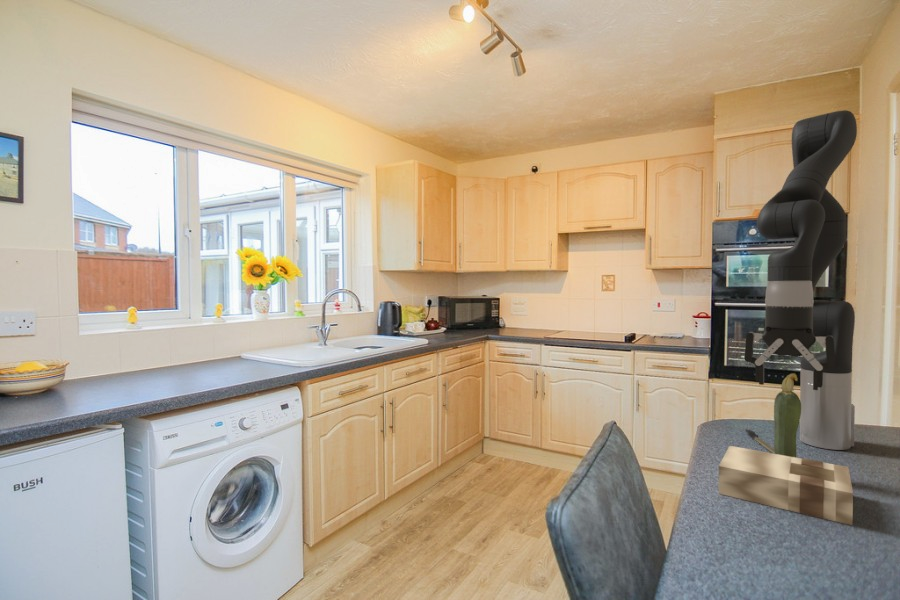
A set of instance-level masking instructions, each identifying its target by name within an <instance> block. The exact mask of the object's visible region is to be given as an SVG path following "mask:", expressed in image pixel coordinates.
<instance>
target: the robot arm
mask: <svg viewBox="0 0 900 600" xmlns="http://www.w3.org/2000/svg"><path fill="white" fill-rule="evenodd" d="M857 126H858V125H857V120H856V117H855V114H854V113H853V112H852V111H851V110H850V111H849V110H837V111H832V112H828V113H824V114H823V113H822V114H820V115H815V116H810V117H807V118H803V119H801V120H797V122H795V124H794V126H793V128H792V132H791V150H792V151H791V154H792V165H793V168H792V170H791V171H790V173H788V175H787V177H786V179H785V181H784V183H783V186H782V188H781V190H779V191H778V192H777V193H776V194H775V195H774V196H773V197H771V198H770V199H769V200H768V201H766V203H765V204H764V205H763V207H761V210H760V211H759V213H758V215H757V219H756V228H757V231H758V233H759V234H760V236H761V237H763V238H765V239H767V240H782V239H783V240H785V239H794V244H793V245H792V246H791V247H789V248H786V249H782V250H778V251H774V252H772V253H770V254H769V255H768V257H767V283H766V289H765V298H764V303H765V312H764V313H765V317H764V319H765V322H764V325H765V327H764V332H763V333H760V332H759V333H758V332H756V333H755V332H753V331H748V332H747V334H746V337H745V348H744V349H745V350H744V361H745V362H746V363H751V364H753V365H754V367H755V368H754V369H755V370H754V371H755V372H754V373H755V374H754V375H755V377H754V379H755V382H758V384H759V385H761V386H764V384H765V365H764V363H765V362H766V361H767V360H768V359H769V358H770V357H771V356H772V355H773V354H775V355H777V356H780V357H787V356H790V357H793V358H799V357H801V358H800V382H799V383H800V386H799V387H800V390H799V391H800V393H799V394H800V396H799V399H800V402H801V416H800V421H799V441H800V442H802V443H804V444H806V445H809V446H812V447H816V448H821V449H826V450H835V451H843V450H844V451H845V450H849V449H851V447H855V419H856V418H855V417H856V416H855V415H856V412H855V411H856V409H855V405H854V404H853V403H852V392H853V391H852V389H853V388H852V383H853V381H852V380H853V379H852V377H853V343H854V333H855V332H854V331H855V322H856V321H855V317H856V316H855V310H854V307H853V305H852V303H850V302H848V301H843V300H842V301H841V300H840V301H839V300H836V301H835V300H814V295H815V289H816V286H817V284H818V282H819V281H820V279H821V277H822V276H823V274H824V273H825V272H826V270H827V269H828V268H829V267H830V265H831V264H832V263H833V262H834V261H835V259H836V258H837V257H838V255H839V254H840V253H841V252H842V250H843V248H844V246H845V244H846V240H847V239H846V237H847V233H846V232H847V225H846V224H847V215H846V214H847V213H846V212H845V210H844V208H843V206H842V205H841V204H840V202H839V201H838V200H837V199H836V198H835V196H833V194H831V192H830V191H829V190H828V189H827V185H828V183H829V181H830V180H831V177H832V175H833V174H834V173H835V171H836V170H837V169H838V168H839V166H840V165H841V164H842V162H843V161H844V160H845V159H846V157H847V156H848V154H849V153H850V152H851V150H852V148H853V147H854V145H855V142H856V140H857V135H858V127H857ZM761 339H762V340H763V342H764V344H766V346H767V348H766V349H765V350H764V352H762V354H760V356H759V357H757V356H754V345H755V344H758V343H759V341H760V340H761ZM816 342H817V343H819V345H820V347H822V348H823V349H824V348H825V350H823V351H820V352H816V353H813V352H812V351H811V350H810V349H811V347H812V346H813V345H815V343H816Z"/></svg>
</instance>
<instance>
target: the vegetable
mask: <svg viewBox="0 0 900 600" xmlns="http://www.w3.org/2000/svg"><path fill="white" fill-rule="evenodd" d="M798 379H799V378H798V375H797V374H796V373H795V372H793V373H789V374H788V375H786V377H785V378H784V379H783V380H782V382H781V391H780V392H778V393H777V394H776V396H775V397H774V403H773V431H774V433H773V435H774V440H773V449H774V452H775V454H778V455H784V456H790V457H795V458H797V431H798V428H799V426H800V416H801V402H800V396H799V395H798V394H797V393H795V389H794V386H795V385H794V382H798ZM794 380H795V381H794Z"/></svg>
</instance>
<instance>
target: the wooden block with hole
mask: <svg viewBox="0 0 900 600" xmlns="http://www.w3.org/2000/svg"><path fill="white" fill-rule="evenodd" d="M849 468H850V467H849V466H845V465H839V464H833V463H827V462H823V461H820V460H814V459H808V458H803V457H801V458H800V457H796V458H795V457H790V456H784V455H778V454H773V453H771V452H768V451H761V450H755V449H750V448H744V447H740V446H739V447H738V446H733V445H729V446H728V447H727V450H726V451H725V454H724V455H723V457H722V459H721V461H720V463H719V465H718V495H723V496H728V497H731V498H736V499H740V500H744V501H749V502H753V503H757V504H762V505H765V506H770V507H774V508H778V509H782V510H786V511H790V512H794V513H799V514H801V515H807V516H810V517H813V518H814V517H815V518H818V519H823V520H828V521H833V522H837V523H841V524H845V525H849V526H853V517H854V516H853V513H854V512H853V511H854V510H853V509H854V506H853V505H854V491H853V487H852V480H851V476H850V469H849Z"/></svg>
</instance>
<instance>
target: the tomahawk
mask: <svg viewBox="0 0 900 600" xmlns="http://www.w3.org/2000/svg"><path fill="white" fill-rule="evenodd" d="M745 432H746V434H748V437H749V436H750V437H751V438H752V440H753V439H754V440H755V441H756V442H755V441H754V440H753V441H754V442H755V443H757V442H758V443H759V444H758V443H757V444H758V445H760V446H761V445H762V446H763V447H762V446H761V447H762V448H763V449H765V448H766V449H765V450H766V451H767V452H768V453H773V454H775V452H774V447H772V446H771V445H769V444H768V443H767V442H766V441H764V440H763V439H762V438H759V437H758V436H757V434H756V432H755V431H753V430H751V429H747V428H746V429H745ZM750 437H749V438H750ZM751 438H750V439H751Z"/></svg>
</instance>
